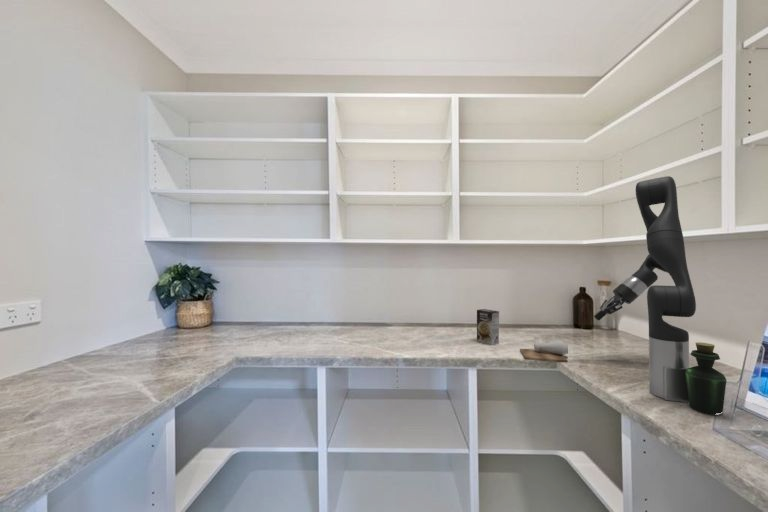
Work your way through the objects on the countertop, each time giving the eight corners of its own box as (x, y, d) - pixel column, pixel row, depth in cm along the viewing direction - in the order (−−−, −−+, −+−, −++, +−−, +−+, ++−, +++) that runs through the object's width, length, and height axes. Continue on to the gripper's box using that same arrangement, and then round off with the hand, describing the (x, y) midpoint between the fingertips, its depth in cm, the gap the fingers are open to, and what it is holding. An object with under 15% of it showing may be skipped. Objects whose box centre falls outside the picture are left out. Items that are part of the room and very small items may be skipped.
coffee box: (476, 341, 165) (476, 309, 165) (484, 339, 169) (483, 308, 169) (491, 345, 158) (491, 312, 158) (499, 343, 162) (499, 310, 162)
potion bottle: (681, 408, 90) (680, 343, 91) (689, 401, 95) (689, 339, 95) (723, 420, 84) (722, 349, 84) (730, 411, 88) (729, 345, 89)
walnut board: (558, 352, 145) (558, 351, 145) (567, 362, 132) (567, 360, 132) (519, 350, 149) (519, 348, 149) (524, 359, 136) (524, 357, 136)
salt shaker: (567, 351, 135) (533, 349, 141) (568, 357, 138) (535, 355, 145) (566, 338, 138) (533, 337, 145) (567, 345, 142) (535, 343, 148)
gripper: (615, 282, 140) (583, 309, 142) (629, 283, 127) (594, 314, 130) (630, 295, 138) (597, 322, 141) (646, 297, 125) (609, 328, 128)
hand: (596, 318), depth 135 cm, fingers closed
